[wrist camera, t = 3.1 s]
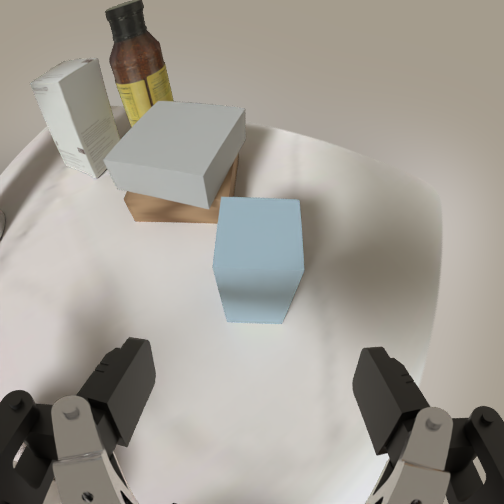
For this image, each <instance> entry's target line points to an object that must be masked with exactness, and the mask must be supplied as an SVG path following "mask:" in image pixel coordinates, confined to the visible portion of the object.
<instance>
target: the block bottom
mask: <svg viewBox="0 0 504 504" xmlns="http://www.w3.org/2000/svg"><path fill="white" fill-rule="evenodd" d="M238 158H239V152H238V154H237V156H236V158H235V160H234V162H233V164H232V166H231V167H230V169H229V171H228V173H227V175H226V177H225V179H224V181H223V183H222V185H221V187H220V189H219V191H218V193H217V195H216V197H215V199H214V201H213V203H212V205H211V207H210V209H205V208H201V207H196V206H192V205H188V204H183V203H179V202H174V201H170V200H166V199H161V198H157V197H152V196H147V195H143V194H138V193H133V192H129V191H127V192H126V195H125V197H124V201H125V203H126V205H127V207H128V209H129V211H130V212H131V214H132V216H133V218H134V220H135V221H137V222H184V223H215V224H218V218H219V210H220V202H221V197H234V191H235V182H236V174H237V166H238Z"/></svg>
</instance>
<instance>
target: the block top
mask: <svg viewBox="0 0 504 504" xmlns="http://www.w3.org/2000/svg"><path fill="white" fill-rule="evenodd" d="M245 140H246V134H245V108H238V107H230V106H223V105H213V104H202V103H191V102H174V101H157V102H156V103H155V104H154V105H153V106H152V107H151V108H150V109H149V110H148V111H147V112H146V113H145V114H144V115H143V116H142V117H141V118H140V119H139V120H138V121H137V122H136V123H135V124H134V125H133V127H132V128H131V129H130V130H129V131H128V132H127V133H126V134H125V135H124V136H123V137H122V139H121V140H120V141H119V142H118V143H117V144H116V145H115V146H114V148H113V149H112V150H111V151H110V152H109V154H108V155H107V156H106V157H105V158H104V160H103V161H104V163H105V165H106V167H107V169H108V171H109V173H110V176H111V178H112V180H113V182H114V184H115V186H116V188H117V189H119V190H124V191H129V192H133V193H138V194H143V195H147V196H152V197H157V198H161V199H166V200H170V201H174V202H179V203H183V204H188V205H192V206H196V207H201V208H205V209H210V207H211V205H212V203H213V201H214V199H215V197H216V195H217V193H218V191H219V189H220V187H221V185H222V183H223V181H224V179H225V177H226V175H227V173H228V171H229V169H230V167H231V166H232V164H233V162H234V160H235V158H236V156H237V154H238V152H239V151H240V149H241V147H242V145H243V143H244V141H245Z"/></svg>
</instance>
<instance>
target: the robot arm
mask: <svg viewBox="0 0 504 504" xmlns="http://www.w3.org/2000/svg"><path fill="white" fill-rule="evenodd" d="M4 226H5V215H4V213H3V212H2V211H1V210H0V238H1V236H2V233H3V230H4ZM155 378H156V373H155V367H154V362H153V356H152V351H151V346H150V342H149V341H148V340H145V339H138V338H132V337H129V338H128V339H127V340H126V342H125V343H124V344H123V346H122V347H121V348H115V349H114V350H112V351H111V352H109V353H107V354H106V355H105V357H104V358H103V359H102V361H101V362H100V364H99V365H98V366H97V367H96V369H95V371H94V372H93V373H92V374H91V376H90V377H89V378H88V380H87V381H86V383H85V384H84V385H83V387H82V388H81V389H80V391H79V392H78V394H77V395H76V396H75V395H70V396H65V397H62V398H60V399H59V400H57V401H56V402H55V403H54V405H45V404H36V403H35V402H34V400H33V398H32V397H31V395H30V394H29V393H28V392H26V391H23V390H16V391H12V392H10V393H8V394H7V395H6V396H5V397H4V398H3V399H2V401H1V402H0V504H43V502H44V500H45V497H46V495H47V492H48V490H49V488H50V485H51V483H52V481H53V479H54V476H55V480H56V485H57V488H58V492H59V496H60V499H61V503H62V504H139V503H138V501H137V500H136V498H135V497H134V495H133V493H132V491H131V489H130V487H129V485H128V483H127V481H126V479H125V477H124V474H123V472H122V470H121V467H120V465H119V463H118V460H117V458H116V455H115V453H114V449H115V446H116V444H118V445H121V446H125V447H128V444H129V442H130V440H131V437H132V435H133V432H134V430H135V428H136V425H137V423H138V421H139V418H140V416H141V414H142V412H143V409H144V407H145V405H146V402H147V400H148V398H149V396H150V393H151V391H152V389H153V387H154V384H155ZM353 393H354V396H355V398H356V401H357V403H358V406H359V409H360V411H361V414H362V417H363V419H364V422H365V425H366V427H367V430H368V433H369V436H370V438H371V441H372V444H373V447H374V449H375V452H376V455H381V454H385V453H388V455H389V459H388V461H387V462H386V464H385V467H384V469H383V471H382V473H381V475H380V477H379V479H378V481H377V483H376V485H375V487H374V489H373V490H372V492H371V494H370V496H369V498H368V499H367V501H366V502H365V504H443V502H444V498H445V495H446V497H447V500H448V503H449V504H504V422H503V420H502V418H501V417H500V416H499V414H498V413H497V412H496V411H495V410H494V409H492V408H490V407H486V406H480V407H478V408H476V409H474V411H473V412H472V414H471V415H470V417H469V418H451V417H450V415H449V414H448V413H447V412H446V411H444V410H442V409H440V408H437V407H430V406H429V404H428V402H427V401H426V399H425V398H424V396H423V394H422V393H421V391H420V390H419V388H418V386H417V385H416V383H415V382H414V380H413V379H412V377H411V376H410V375H409V373H408V371H407V370H406V368H405V367H404V365H403V364H401V363H400V362H399V361H397V360H396V359H395V358H390V357H389V355H388V354H387V352H386V351H385V349H384V348H383V347H371V348H363V349H362V351H361V354H360V358H359V361H358V364H357V368H356V371H355V374H354V378H353ZM23 442H25V444H26V445H27V446H26V448H25V450H24V451H23V453H22V455H21V457H20V459H19V460H18V462H17V464H16V466H15V468H14V467H13V459H14V457H15V455H16V454H17V452H18V450H19V449H20V447H21V445H22V443H23ZM477 456H478V458H479V460H480V462H481V464H482V466H483V469H484V471H485V473H486V481H485V483H484V485H483V483H482V481H481V478H480V476H479V474H478V472H477V470H476V468H475V466H474V463H473V460H474V459H475V458H476V457H477ZM172 504H175V503H172Z"/></svg>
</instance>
